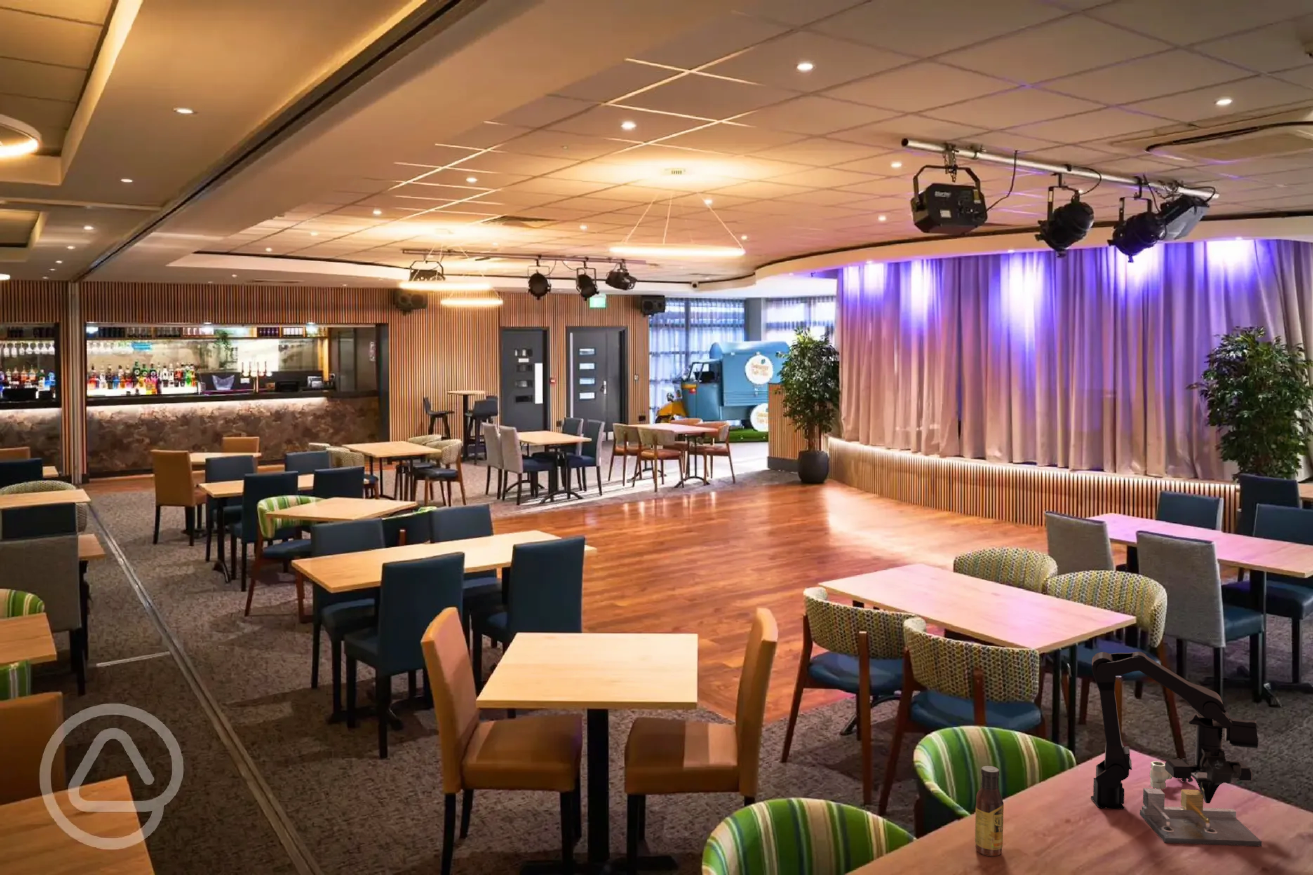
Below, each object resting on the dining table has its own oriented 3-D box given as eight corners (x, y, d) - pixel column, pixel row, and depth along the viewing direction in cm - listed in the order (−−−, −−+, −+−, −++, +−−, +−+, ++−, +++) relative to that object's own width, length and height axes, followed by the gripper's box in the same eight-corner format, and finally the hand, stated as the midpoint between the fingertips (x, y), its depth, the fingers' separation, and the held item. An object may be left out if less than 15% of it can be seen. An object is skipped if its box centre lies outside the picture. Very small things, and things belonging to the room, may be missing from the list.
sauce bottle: (999, 860, 223) (1000, 777, 222) (971, 853, 227) (973, 771, 225) (1005, 848, 229) (1006, 767, 228) (978, 841, 232) (979, 761, 231)
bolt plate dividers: (1164, 842, 231) (1165, 813, 231) (1139, 814, 246) (1140, 787, 246) (1261, 846, 229) (1262, 817, 228) (1230, 817, 244) (1231, 789, 243)
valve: (1162, 793, 258) (1195, 786, 263) (1162, 769, 258) (1196, 762, 262) (1142, 783, 265) (1174, 776, 269) (1142, 760, 264) (1175, 753, 268)
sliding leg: (1199, 829, 234) (1200, 807, 234) (1180, 810, 244) (1181, 789, 244) (1216, 830, 234) (1217, 808, 233) (1197, 811, 244) (1197, 789, 244)
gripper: (1184, 753, 234) (1182, 816, 235) (1265, 755, 232) (1263, 818, 233) (1164, 736, 245) (1163, 796, 246) (1241, 738, 243) (1240, 798, 244)
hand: (1207, 802), depth 242 cm, fingers closed
